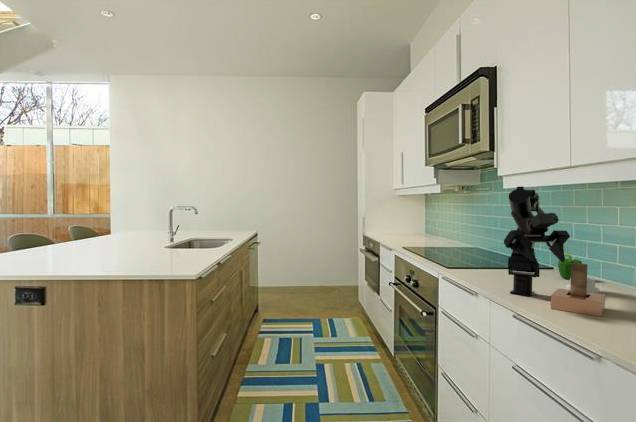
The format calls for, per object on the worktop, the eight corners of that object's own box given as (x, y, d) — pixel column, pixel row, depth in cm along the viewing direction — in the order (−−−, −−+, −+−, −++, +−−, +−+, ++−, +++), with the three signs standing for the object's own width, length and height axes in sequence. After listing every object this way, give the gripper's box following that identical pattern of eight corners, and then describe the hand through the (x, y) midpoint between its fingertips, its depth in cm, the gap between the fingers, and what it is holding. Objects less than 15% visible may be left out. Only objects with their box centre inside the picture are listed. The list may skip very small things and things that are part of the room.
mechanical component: (586, 288, 148) (559, 287, 148) (587, 276, 148) (559, 275, 148) (606, 294, 138) (576, 294, 138) (606, 282, 138) (577, 281, 138)
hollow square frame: (557, 301, 127) (558, 288, 127) (604, 308, 119) (605, 294, 119) (550, 308, 117) (551, 295, 117) (601, 316, 110) (601, 302, 110)
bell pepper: (584, 281, 160) (584, 256, 160) (560, 279, 163) (560, 254, 163) (578, 277, 168) (579, 253, 168) (556, 276, 171) (557, 252, 171)
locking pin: (570, 305, 121) (572, 262, 121) (586, 308, 119) (588, 264, 118) (568, 308, 118) (570, 264, 118) (585, 311, 116) (586, 265, 115)
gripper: (510, 203, 122) (533, 243, 111) (566, 204, 125) (594, 243, 114) (494, 227, 130) (515, 267, 119) (547, 228, 133) (572, 267, 122)
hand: (549, 261), depth 118 cm, fingers open, 9 cm apart
